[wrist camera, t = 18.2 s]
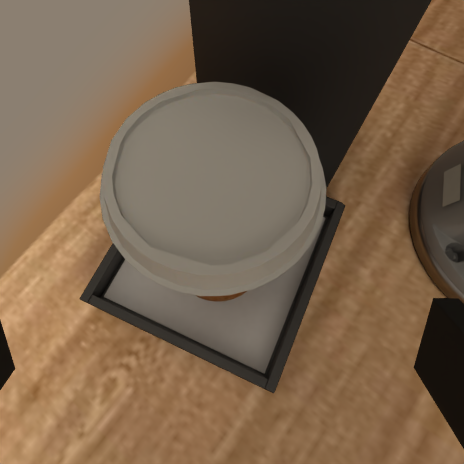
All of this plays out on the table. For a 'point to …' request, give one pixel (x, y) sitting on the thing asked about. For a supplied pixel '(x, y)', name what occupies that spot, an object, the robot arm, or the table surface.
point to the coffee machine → (325, 139)
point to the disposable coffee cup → (212, 189)
